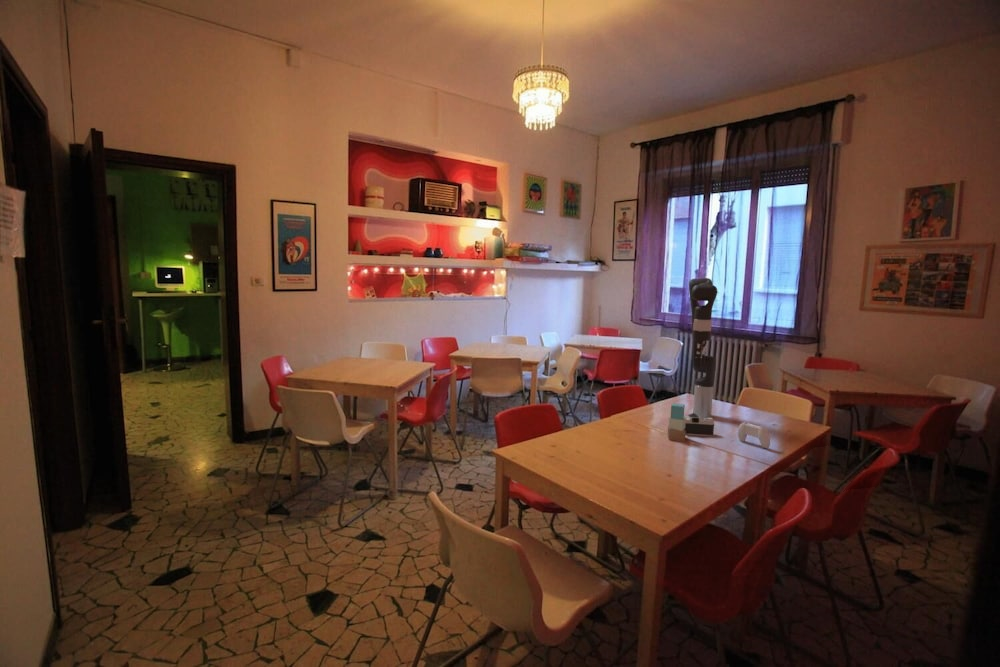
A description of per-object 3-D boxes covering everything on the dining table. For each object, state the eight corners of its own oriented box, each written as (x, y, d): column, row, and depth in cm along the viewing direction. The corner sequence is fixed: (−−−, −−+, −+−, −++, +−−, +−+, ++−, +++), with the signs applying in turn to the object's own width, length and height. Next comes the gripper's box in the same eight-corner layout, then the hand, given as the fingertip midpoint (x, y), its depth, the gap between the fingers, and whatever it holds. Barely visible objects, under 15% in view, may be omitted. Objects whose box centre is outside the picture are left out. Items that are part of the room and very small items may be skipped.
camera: (709, 431, 231) (711, 411, 230) (715, 437, 222) (716, 416, 221) (676, 429, 233) (677, 409, 232) (680, 434, 224) (681, 414, 223)
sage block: (671, 425, 222) (672, 415, 222) (685, 427, 219) (685, 417, 218) (668, 428, 217) (669, 418, 217) (682, 431, 214) (682, 420, 213)
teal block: (672, 415, 221) (673, 403, 220) (683, 417, 218) (684, 404, 218) (670, 418, 216) (671, 405, 216) (681, 419, 214) (682, 407, 213)
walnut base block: (667, 435, 223) (668, 425, 222) (683, 437, 221) (683, 426, 220) (668, 440, 216) (669, 429, 216) (684, 441, 214) (685, 431, 214)
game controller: (771, 449, 206) (773, 427, 205) (765, 451, 204) (767, 428, 203) (740, 440, 218) (741, 419, 217) (734, 441, 216) (736, 420, 215)
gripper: (695, 327, 220) (693, 362, 222) (690, 330, 208) (688, 366, 210) (713, 328, 216) (711, 363, 218) (708, 331, 204) (706, 368, 206)
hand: (699, 365), depth 214 cm, fingers open, 8 cm apart
